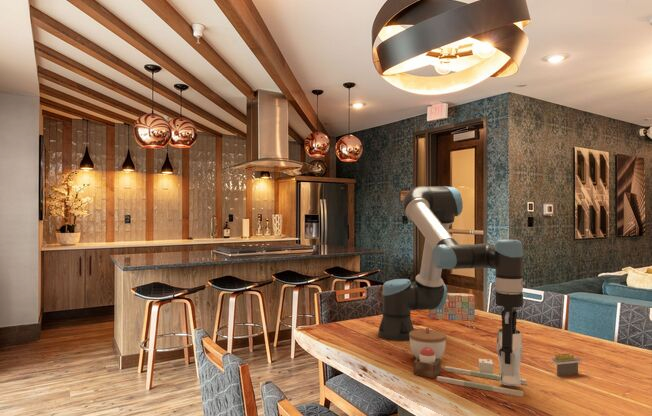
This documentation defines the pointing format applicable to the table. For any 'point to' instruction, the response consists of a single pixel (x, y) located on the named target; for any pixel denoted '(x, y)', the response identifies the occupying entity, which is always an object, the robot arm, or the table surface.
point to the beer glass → (517, 355)
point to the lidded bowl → (427, 341)
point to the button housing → (427, 368)
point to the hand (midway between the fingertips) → (509, 370)
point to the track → (478, 385)
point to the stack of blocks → (456, 308)
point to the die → (486, 366)
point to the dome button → (427, 355)
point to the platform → (566, 364)
